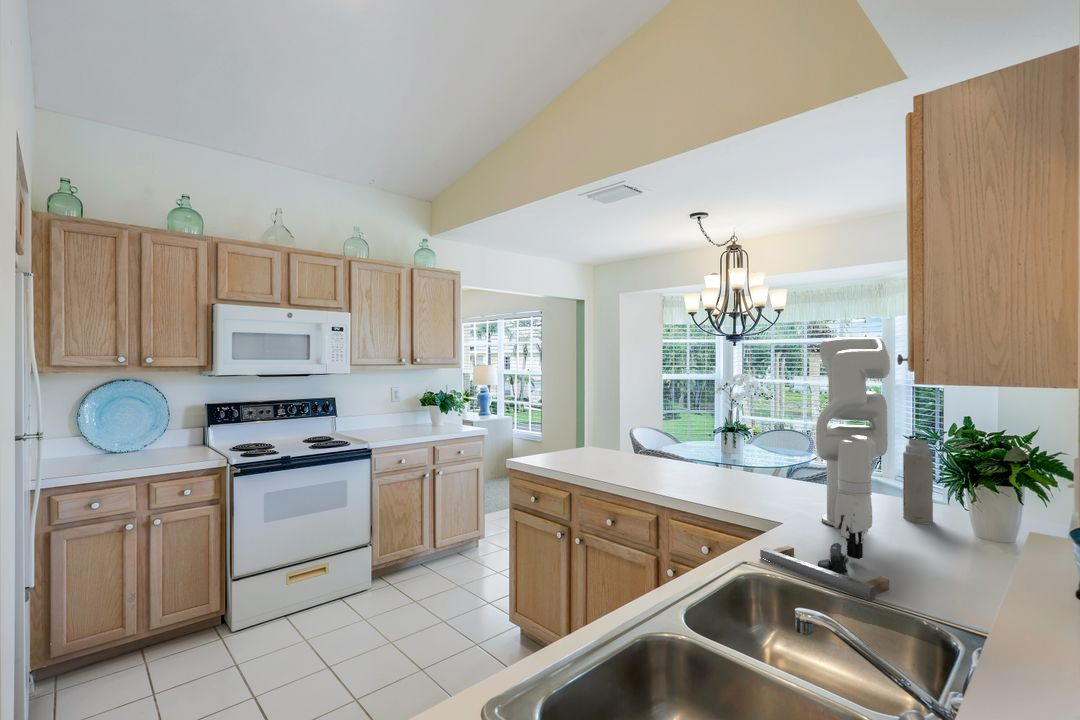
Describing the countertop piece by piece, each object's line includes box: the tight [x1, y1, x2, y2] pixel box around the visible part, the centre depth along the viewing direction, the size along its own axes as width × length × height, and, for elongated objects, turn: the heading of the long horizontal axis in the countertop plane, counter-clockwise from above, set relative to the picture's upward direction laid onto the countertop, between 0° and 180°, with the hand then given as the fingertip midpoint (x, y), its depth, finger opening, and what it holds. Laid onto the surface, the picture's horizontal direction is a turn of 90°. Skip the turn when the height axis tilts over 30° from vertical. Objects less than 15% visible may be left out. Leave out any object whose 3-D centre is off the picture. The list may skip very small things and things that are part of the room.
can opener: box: [817, 542, 850, 575], centre depth 138 cm, size 18×7×6 cm, turn 146°
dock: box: [759, 545, 890, 602], centre depth 132 cm, size 10×28×3 cm, turn 30°
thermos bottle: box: [902, 435, 934, 525], centre depth 176 cm, size 8×8×28 cm
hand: (854, 557), depth 139 cm, fingers closed
